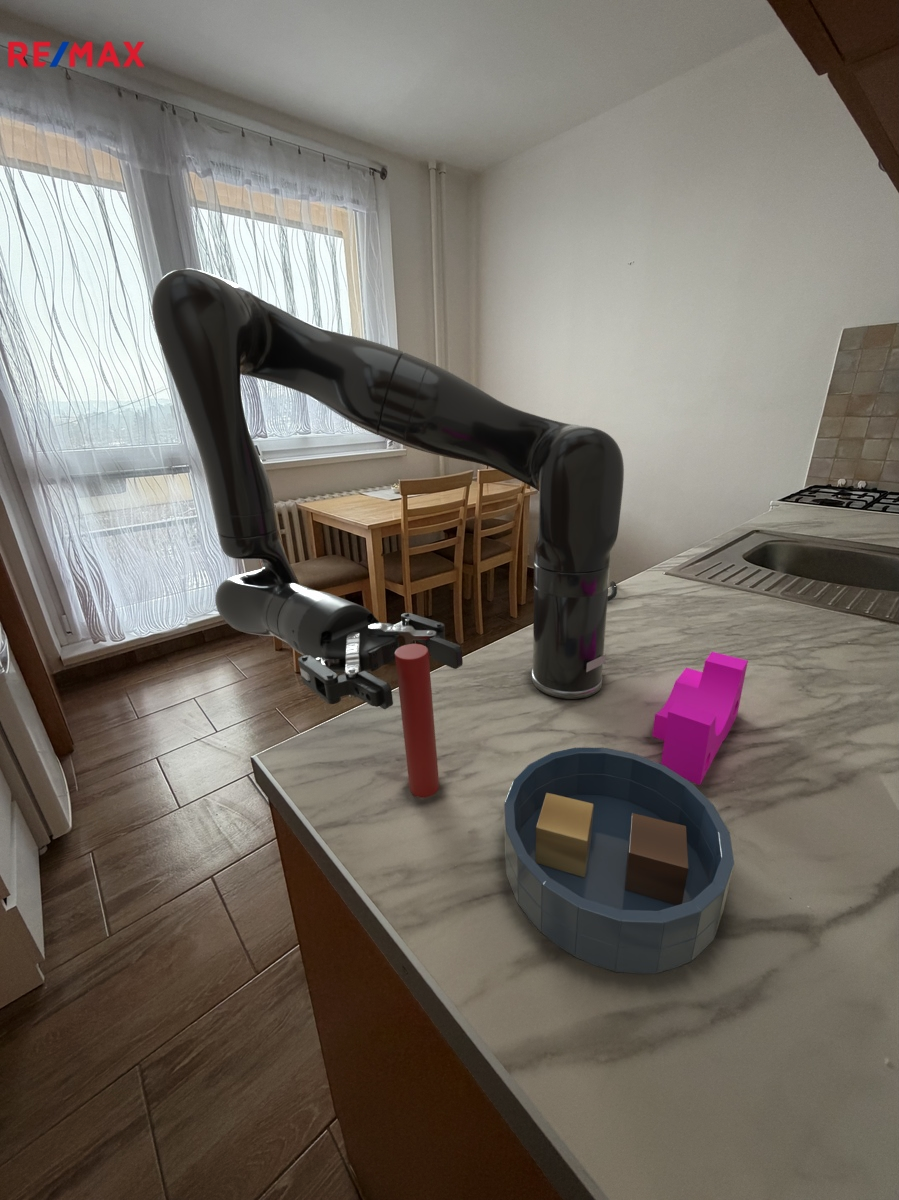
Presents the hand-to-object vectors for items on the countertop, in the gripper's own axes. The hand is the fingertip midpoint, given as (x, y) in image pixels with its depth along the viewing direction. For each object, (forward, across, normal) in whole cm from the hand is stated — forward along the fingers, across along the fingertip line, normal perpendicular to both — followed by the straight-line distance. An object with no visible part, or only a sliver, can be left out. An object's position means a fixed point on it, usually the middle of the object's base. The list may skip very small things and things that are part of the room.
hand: (426, 677), depth 43 cm
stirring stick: (-2, 0, +14) cm, 14 cm away
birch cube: (+13, +3, +13) cm, 19 cm away
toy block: (+15, +25, +14) cm, 33 cm away
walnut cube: (+19, +5, +13) cm, 24 cm away
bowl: (+16, +4, +14) cm, 22 cm away
